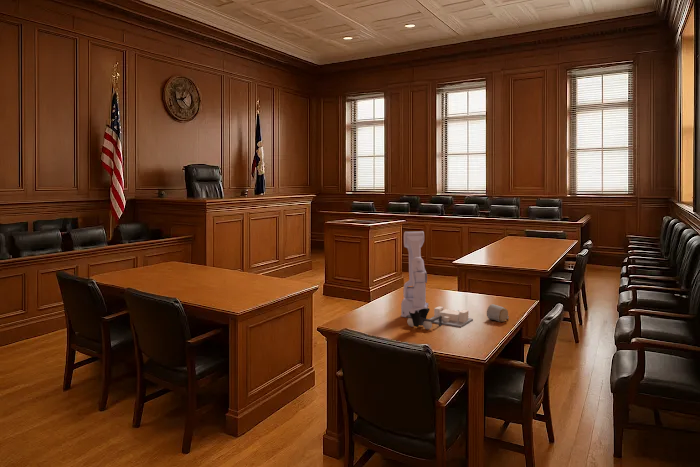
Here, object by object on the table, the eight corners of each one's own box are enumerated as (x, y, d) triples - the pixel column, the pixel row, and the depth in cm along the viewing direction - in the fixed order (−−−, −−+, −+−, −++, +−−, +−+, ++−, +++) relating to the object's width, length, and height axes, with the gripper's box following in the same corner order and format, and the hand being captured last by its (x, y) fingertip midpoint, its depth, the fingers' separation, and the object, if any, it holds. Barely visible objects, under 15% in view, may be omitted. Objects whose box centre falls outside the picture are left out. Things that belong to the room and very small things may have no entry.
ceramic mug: (500, 323, 247) (500, 308, 246) (486, 320, 253) (486, 305, 253) (512, 320, 253) (513, 305, 253) (498, 316, 260) (499, 302, 259)
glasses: (431, 330, 237) (432, 320, 236) (405, 325, 245) (405, 315, 245) (441, 325, 245) (441, 315, 245) (416, 320, 253) (416, 311, 253)
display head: (460, 327, 241) (460, 316, 241) (426, 321, 252) (426, 310, 251) (473, 320, 253) (473, 309, 253) (439, 315, 264) (440, 304, 263)
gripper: (419, 300, 232) (419, 329, 233) (434, 294, 244) (434, 322, 245) (406, 298, 236) (406, 327, 237) (421, 293, 248) (420, 320, 249)
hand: (419, 324), depth 242 cm, fingers open, 6 cm apart
